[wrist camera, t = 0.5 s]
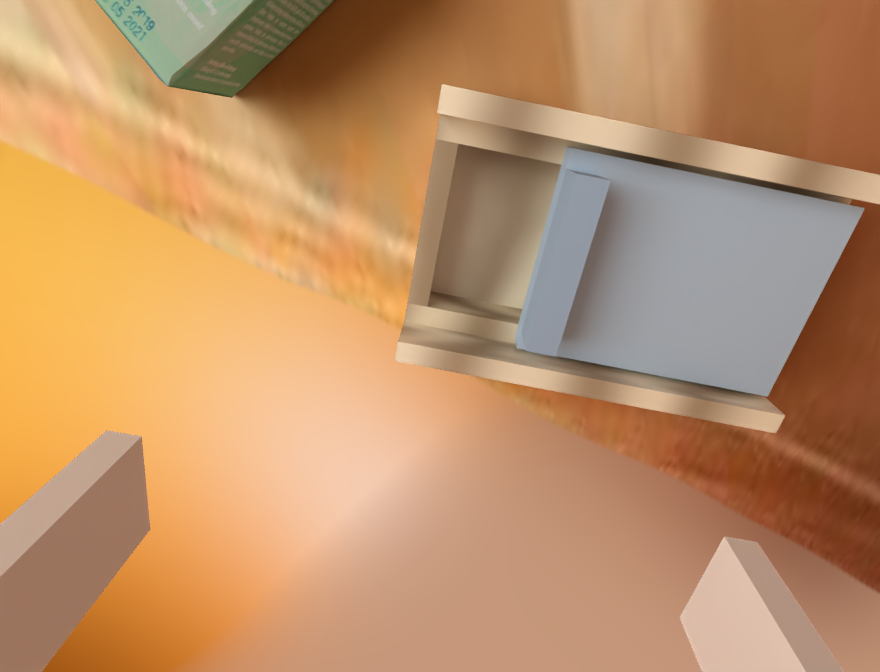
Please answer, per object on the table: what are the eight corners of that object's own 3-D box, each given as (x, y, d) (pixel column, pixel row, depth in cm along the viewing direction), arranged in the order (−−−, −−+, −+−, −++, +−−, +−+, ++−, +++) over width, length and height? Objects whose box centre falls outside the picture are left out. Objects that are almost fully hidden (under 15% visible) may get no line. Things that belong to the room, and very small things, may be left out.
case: (408, 316, 34) (394, 360, 28) (447, 92, 29) (441, 84, 22) (718, 376, 35) (775, 433, 28) (814, 169, 29) (912, 181, 23)
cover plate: (514, 337, 30) (521, 367, 27) (566, 146, 26) (583, 150, 22) (754, 384, 31) (793, 419, 27) (844, 203, 26) (905, 216, 23)
